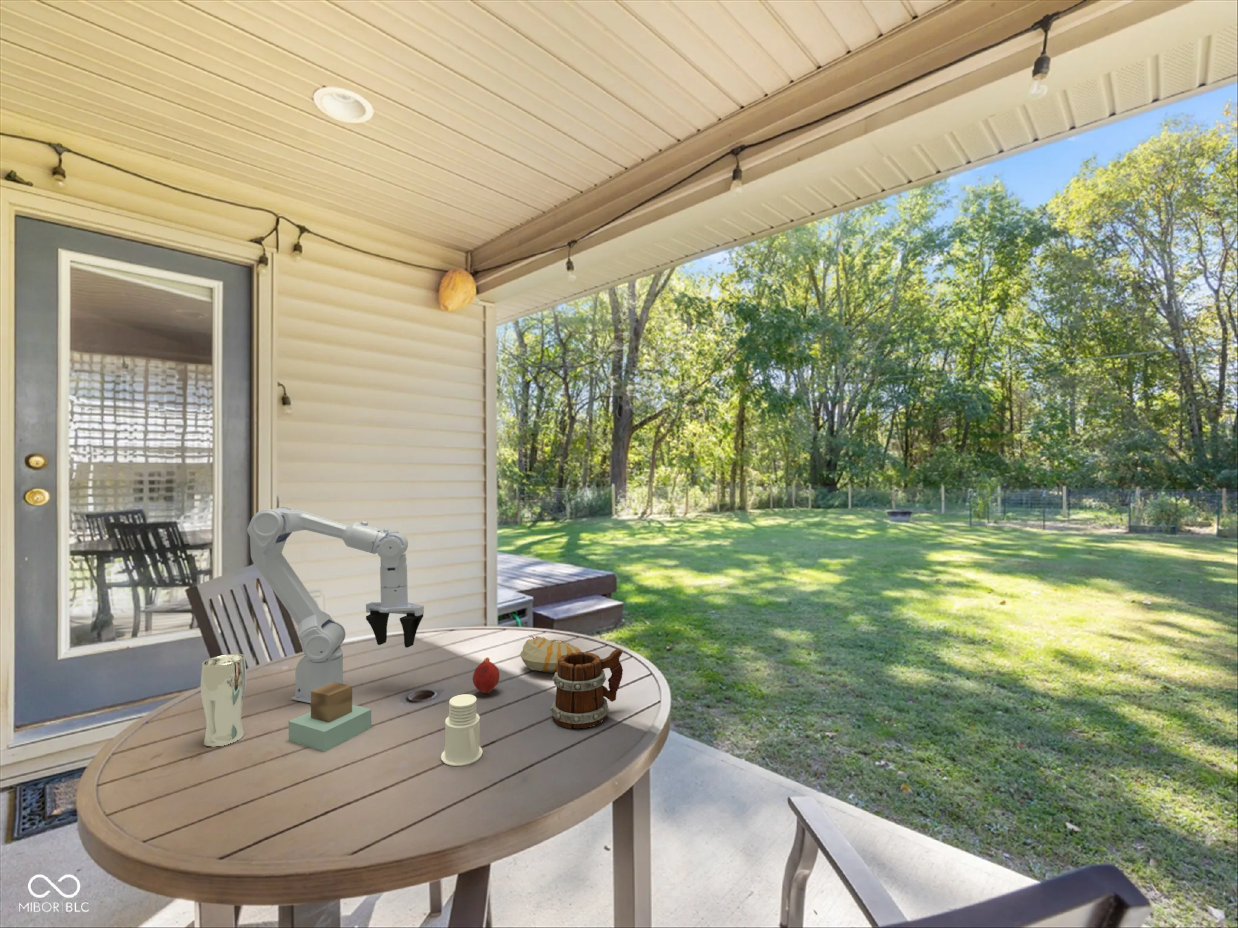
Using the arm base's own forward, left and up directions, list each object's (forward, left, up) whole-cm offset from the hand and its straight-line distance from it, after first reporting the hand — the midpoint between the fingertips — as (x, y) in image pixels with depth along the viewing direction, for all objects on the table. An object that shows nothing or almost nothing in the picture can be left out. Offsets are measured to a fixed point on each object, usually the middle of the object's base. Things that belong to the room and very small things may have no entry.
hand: (395, 644), depth 125 cm
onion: (+21, +6, -11) cm, 24 cm away
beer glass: (-13, -29, -11) cm, 34 cm away
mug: (+47, +4, -11) cm, 48 cm away
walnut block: (+4, -20, -7) cm, 22 cm away
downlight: (+33, -18, -11) cm, 39 cm away
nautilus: (+25, +26, -11) cm, 38 cm away
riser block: (+4, -20, -11) cm, 24 cm away
